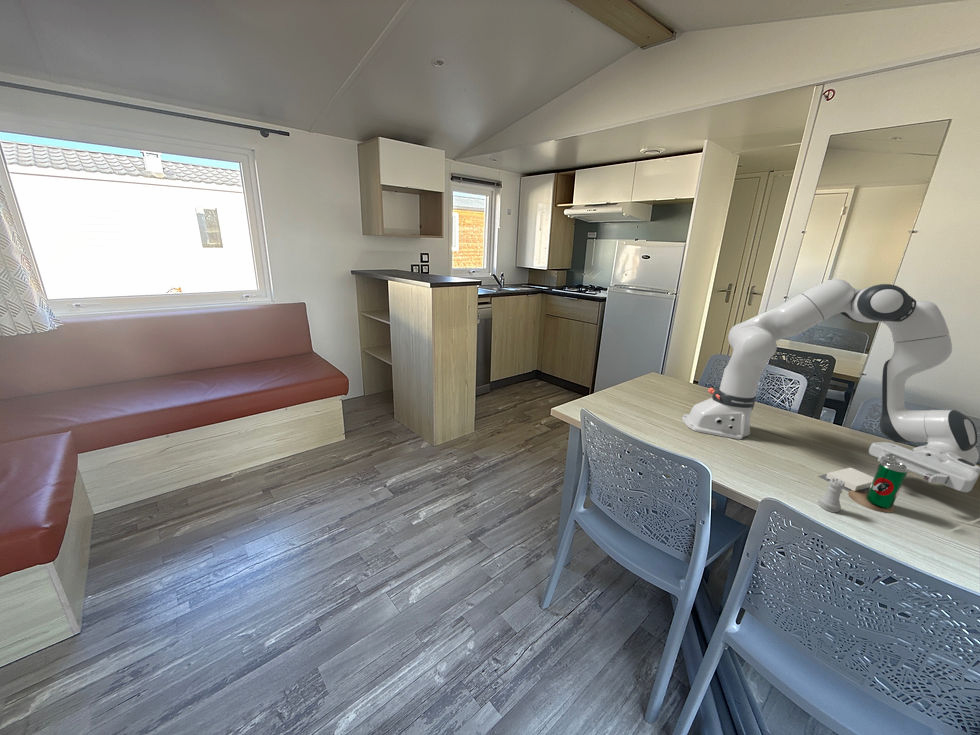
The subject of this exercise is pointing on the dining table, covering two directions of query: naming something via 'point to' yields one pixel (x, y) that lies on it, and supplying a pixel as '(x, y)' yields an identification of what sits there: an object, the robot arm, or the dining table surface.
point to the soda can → (886, 483)
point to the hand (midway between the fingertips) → (903, 468)
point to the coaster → (861, 499)
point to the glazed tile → (852, 478)
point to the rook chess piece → (832, 496)
